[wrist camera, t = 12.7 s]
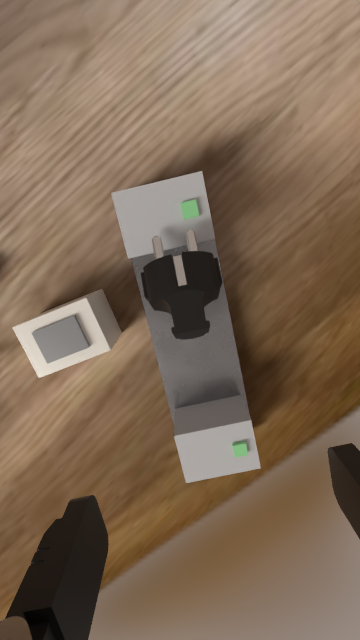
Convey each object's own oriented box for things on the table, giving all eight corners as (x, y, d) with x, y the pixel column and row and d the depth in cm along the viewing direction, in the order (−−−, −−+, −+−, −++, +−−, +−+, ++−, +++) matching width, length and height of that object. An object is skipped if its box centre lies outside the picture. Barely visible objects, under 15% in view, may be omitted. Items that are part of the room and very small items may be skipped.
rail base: (119, 199, 32) (115, 196, 30) (201, 179, 31) (202, 175, 29) (181, 444, 38) (181, 455, 36) (250, 429, 37) (254, 440, 35)
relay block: (40, 313, 34) (10, 328, 28) (102, 288, 34) (84, 298, 27) (62, 355, 35) (37, 379, 29) (122, 332, 35) (109, 351, 28)
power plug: (165, 349, 32) (146, 334, 21) (152, 276, 34) (127, 223, 22) (222, 338, 32) (235, 316, 20) (206, 265, 34) (211, 206, 22)
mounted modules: (122, 201, 30) (110, 192, 25) (198, 182, 29) (202, 169, 24) (185, 450, 36) (186, 486, 30) (249, 437, 35) (261, 471, 30)
